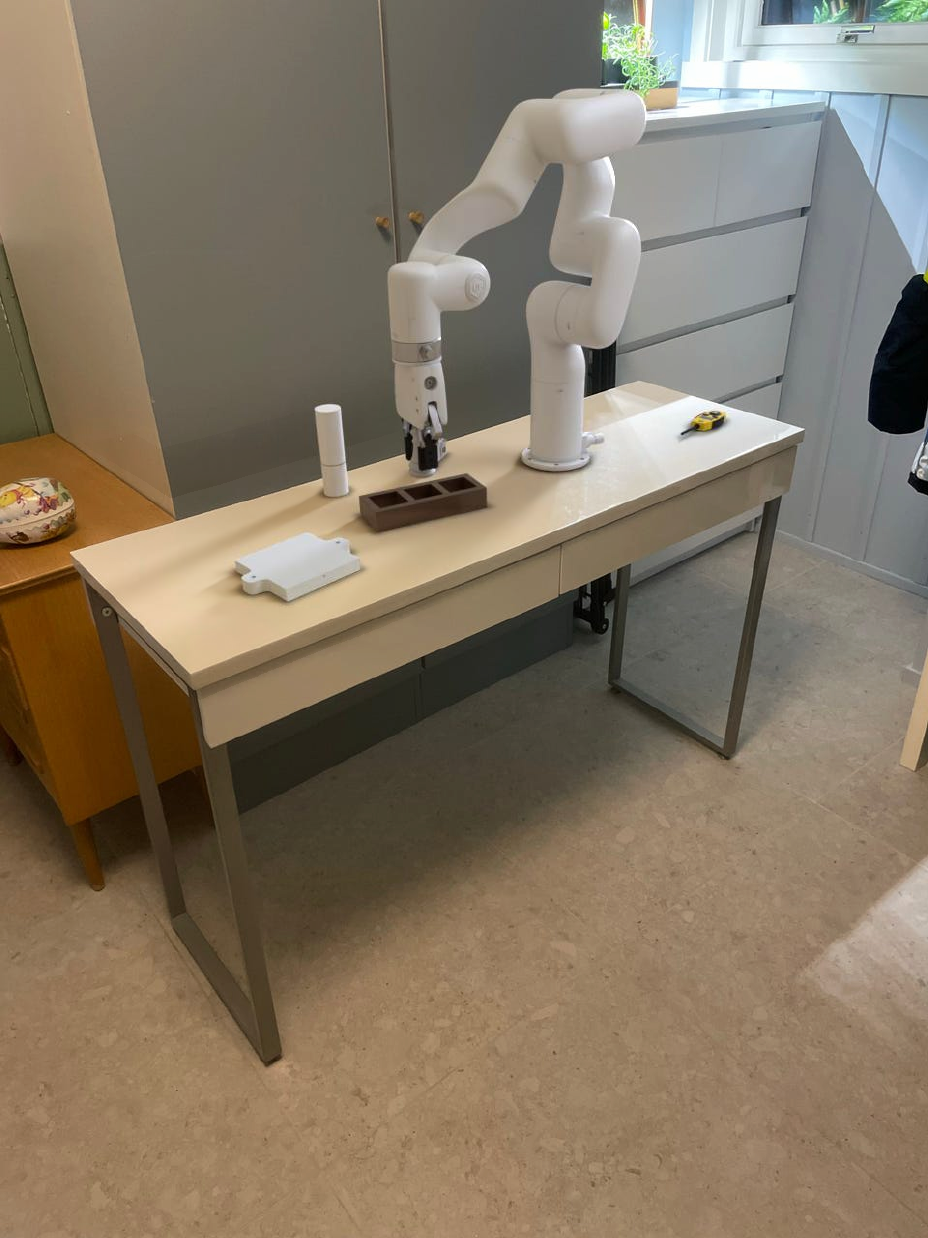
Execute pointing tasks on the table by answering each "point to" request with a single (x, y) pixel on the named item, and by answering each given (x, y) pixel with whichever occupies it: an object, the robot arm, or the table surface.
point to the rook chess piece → (413, 463)
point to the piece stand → (422, 502)
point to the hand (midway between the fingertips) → (421, 462)
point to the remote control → (707, 421)
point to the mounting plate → (296, 566)
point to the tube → (331, 450)
